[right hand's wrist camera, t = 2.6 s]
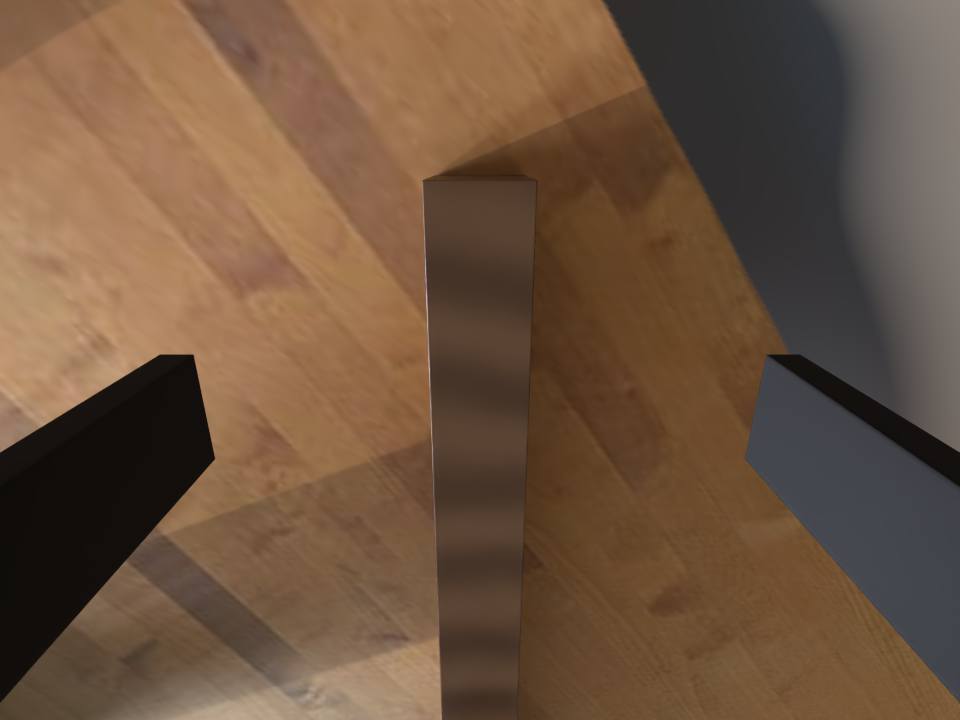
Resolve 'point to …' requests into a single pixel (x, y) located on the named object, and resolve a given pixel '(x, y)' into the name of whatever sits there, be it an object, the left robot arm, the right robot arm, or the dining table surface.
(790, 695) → the dining table surface
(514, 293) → the post
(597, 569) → the dining table surface
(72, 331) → the dining table surface
